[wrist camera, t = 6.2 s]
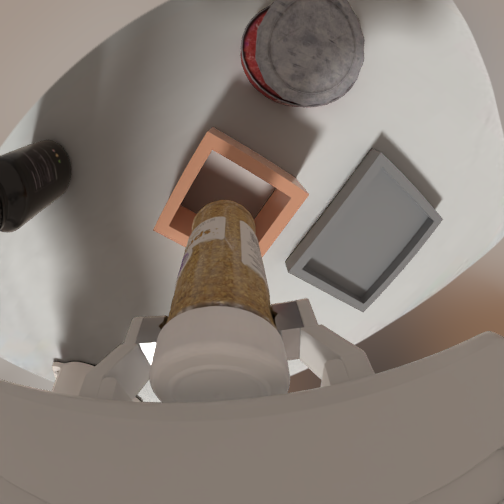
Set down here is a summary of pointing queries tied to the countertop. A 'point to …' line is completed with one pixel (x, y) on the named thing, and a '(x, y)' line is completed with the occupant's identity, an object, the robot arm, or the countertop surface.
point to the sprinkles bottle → (220, 317)
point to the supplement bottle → (31, 181)
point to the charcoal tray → (365, 234)
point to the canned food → (303, 51)
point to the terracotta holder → (287, 186)
